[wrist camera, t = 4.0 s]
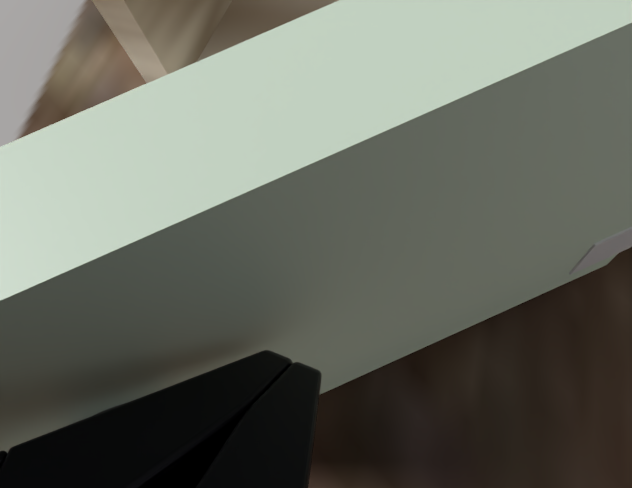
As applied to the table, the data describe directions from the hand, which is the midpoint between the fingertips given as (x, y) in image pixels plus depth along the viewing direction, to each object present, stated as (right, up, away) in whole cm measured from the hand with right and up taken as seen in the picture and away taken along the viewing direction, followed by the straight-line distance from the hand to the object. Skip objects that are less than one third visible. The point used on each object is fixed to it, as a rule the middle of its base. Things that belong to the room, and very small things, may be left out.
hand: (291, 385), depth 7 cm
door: (+2, -1, +6) cm, 7 cm away
